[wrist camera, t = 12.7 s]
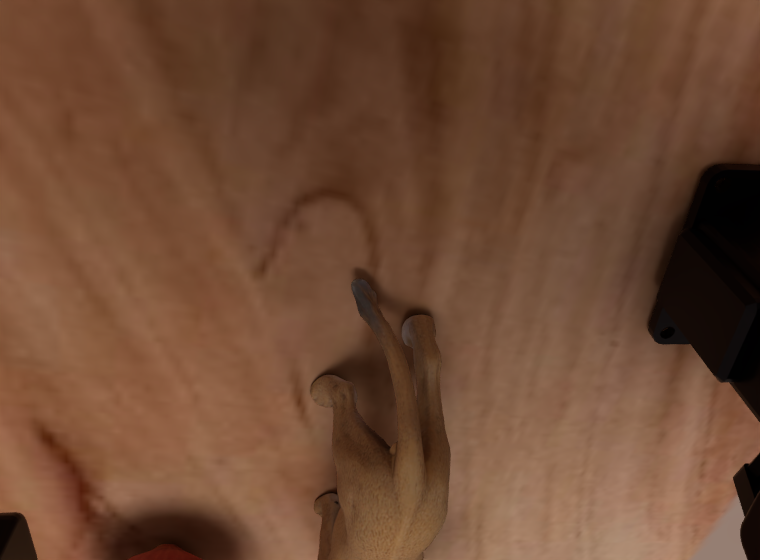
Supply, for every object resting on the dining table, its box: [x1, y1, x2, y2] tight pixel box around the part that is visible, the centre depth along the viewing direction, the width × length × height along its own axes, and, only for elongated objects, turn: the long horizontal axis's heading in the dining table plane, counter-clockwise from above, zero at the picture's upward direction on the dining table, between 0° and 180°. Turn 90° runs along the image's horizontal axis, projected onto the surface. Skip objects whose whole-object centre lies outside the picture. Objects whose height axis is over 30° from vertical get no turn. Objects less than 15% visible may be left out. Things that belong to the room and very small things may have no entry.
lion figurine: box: [310, 279, 451, 560], centre depth 23 cm, size 15×5×9 cm, turn 4°
